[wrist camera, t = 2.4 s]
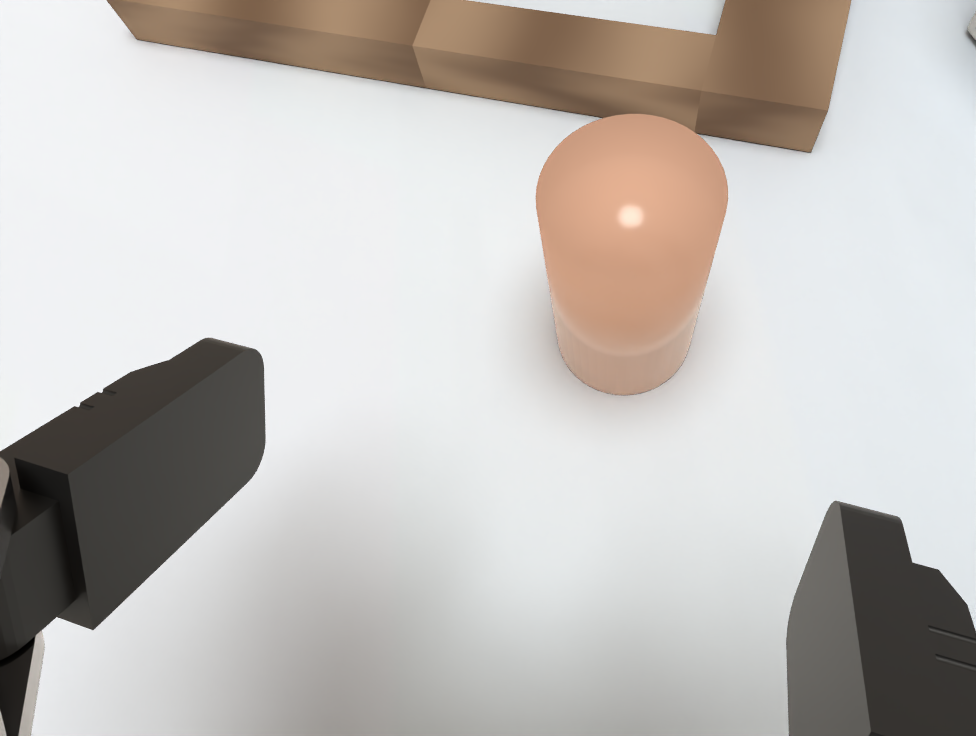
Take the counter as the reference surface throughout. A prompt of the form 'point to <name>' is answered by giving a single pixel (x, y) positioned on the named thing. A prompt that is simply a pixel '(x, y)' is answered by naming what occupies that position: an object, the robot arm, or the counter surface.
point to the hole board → (544, 55)
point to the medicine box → (972, 26)
